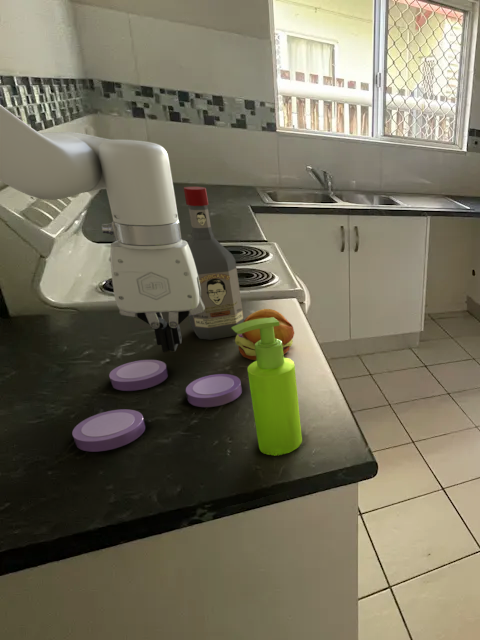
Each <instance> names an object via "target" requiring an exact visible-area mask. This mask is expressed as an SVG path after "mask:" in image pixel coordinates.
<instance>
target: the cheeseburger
mask: <svg viewBox="0 0 480 640" xmlns="http://www.w3.org/2000/svg"><path fill="white" fill-rule="evenodd" d="M271 317H274V318H275V319H276V320H278V321H279V326H274V335H275V338H276V339H279V340H281V341H282V345H283V354H284V355H285V354H286V353H288V351H290V347H292V345H293V343H294V341H293V338H294V336H295V329H294V326H293V324H292V323H291V322H289V321H288V320H287V318H286V317H285V316H284V315H283V314H282V313H281V312H279V311H277V310H275V309H271V308H262V309H258V310H256V311H254V312H252V313H250V314H249V315H248V316H246V318H244V322H246V321H250V320H255V319H262V318H271ZM259 340H261V336H260V329H255V330H251V331H248V332H245V333H242V334H238V335H235V339H234V342H235V345H236V346H238V351H239V353H240V355H241V356H242V357H243V358H246V359H249V360H251V361H257V359H256V352H255V343H256V342H257V341H259Z"/></svg>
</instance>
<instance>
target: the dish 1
mask: <svg viewBox="0 0 480 640" xmlns="http://www.w3.org/2000/svg"><path fill="white" fill-rule="evenodd" d="M145 431H146V422H145V419H144V415H143V414H142V413H141V412H140V411H138V410H136V409H135V410H134V409H125V408H122V409H121V408H120V409H113V410H108V411H103V412H99V413H97V414H94V415H92V416H89V417H87V418H85V419H84V420H82V421H80V422H79V423H78V424H76V426H74V427H73V429H72V432H71V434H72V438H73V441H74V444H75V446H76V448H78V449H79V450H81V451H82V452H83V451H84V452H89V453H90V452H91V453H97V452H106V451H110V450H115V449H118V448H122V447H124V446H126V445H128V444H130V443H133V442H134V441H136V440H137V439H139V438H140V437H141V436H142V435H143V434H144V433H145Z"/></svg>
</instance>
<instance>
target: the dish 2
mask: <svg viewBox="0 0 480 640" xmlns="http://www.w3.org/2000/svg"><path fill="white" fill-rule="evenodd" d="M108 377H109V378H108V379H109V381H110V385H111V387H112V388H113V389H115V390H117V391H123V392H133V391H141V390H146V389H148V388H149V389H150V388H152V387H155V386H158V385H160V384H162V383H163V382H165V381H166V380H167V378H168V377H169V371H168V368H167V364H166V363H165V362H164V361H161V360H159V359H158V360H157V359H140V360H135V361H129V362H127V363H124V364H121V365H119V366H116V367H115V368H113V369H112V370H111V371H110V372H109V374H108Z"/></svg>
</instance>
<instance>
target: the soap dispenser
mask: <svg viewBox="0 0 480 640" xmlns="http://www.w3.org/2000/svg"><path fill="white" fill-rule="evenodd" d="M274 326H279V321H278V320H276V319H275V318H274V317H271V318H262V319H255V320H250V321H246V322H243V323H240V324H238V325H235V326H233V327H231V328H232V329H233V330H234V331H235V332H236V333H237V334H242V333H245V332H248V331H251V330H255V329H260V336H261V340H259V341H257V342H256V343H255V352H256V359H257V360H254V361H253V362H251V363H250V364H249V365H248V366H247V369H246V370H247V376H248V384H249V390H250V397H251V403H252V411H253V416H254V424H255V430H256V431H255V432H256V438H257V445H258V449H259V451H260V452H261V453H262V454H263V455H267V456H282V455H287V454H289V453H292V452H293V451H295V450H297V449H298V448H299V447H300V446H301V444H302V443H303V435H302V434H303V433H302V427H301V416H300V408H299V407H300V406H299V405H300V404H299V395H298V386H297V376H296V375H297V374H296V365H295V362H294V361H293V360H292V359H291V358H288V357H285V354H283V345H282V341H281V340H279V339H276V338H275V335H274Z"/></svg>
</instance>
